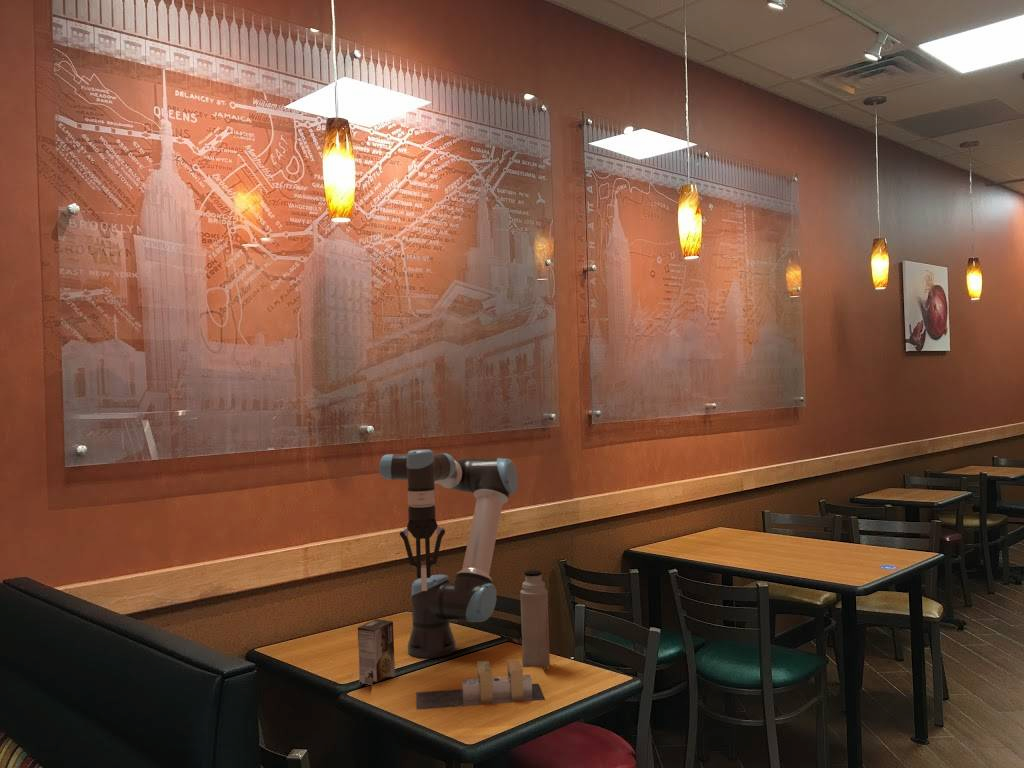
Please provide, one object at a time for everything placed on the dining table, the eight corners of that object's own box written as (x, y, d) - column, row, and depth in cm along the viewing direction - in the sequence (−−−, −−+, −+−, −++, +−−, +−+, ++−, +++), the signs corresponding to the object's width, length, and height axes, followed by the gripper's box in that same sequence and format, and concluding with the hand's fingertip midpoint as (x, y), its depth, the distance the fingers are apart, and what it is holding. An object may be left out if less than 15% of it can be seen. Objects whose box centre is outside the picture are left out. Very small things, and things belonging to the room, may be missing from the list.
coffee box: (377, 674, 243) (375, 618, 243) (395, 676, 240) (394, 620, 240) (358, 684, 234) (356, 627, 235) (377, 687, 232) (375, 629, 232)
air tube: (462, 694, 220) (462, 679, 220) (530, 689, 222) (529, 674, 222) (463, 700, 216) (462, 684, 216) (532, 695, 218) (531, 679, 218)
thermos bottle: (551, 662, 248) (548, 568, 248) (547, 672, 240) (544, 574, 240) (525, 662, 249) (522, 568, 249) (520, 671, 241) (517, 574, 242)
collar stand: (416, 698, 223) (415, 664, 223) (538, 689, 226) (537, 655, 226) (416, 715, 211) (415, 679, 211) (545, 705, 215) (544, 670, 215)
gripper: (397, 508, 229) (400, 594, 229) (445, 506, 230) (448, 591, 230) (398, 504, 236) (400, 588, 236) (444, 502, 238) (447, 585, 238)
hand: (424, 589), depth 233 cm, fingers closed
